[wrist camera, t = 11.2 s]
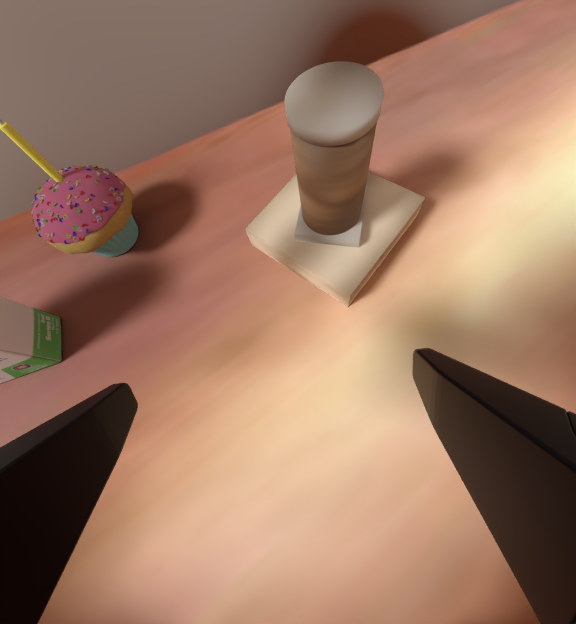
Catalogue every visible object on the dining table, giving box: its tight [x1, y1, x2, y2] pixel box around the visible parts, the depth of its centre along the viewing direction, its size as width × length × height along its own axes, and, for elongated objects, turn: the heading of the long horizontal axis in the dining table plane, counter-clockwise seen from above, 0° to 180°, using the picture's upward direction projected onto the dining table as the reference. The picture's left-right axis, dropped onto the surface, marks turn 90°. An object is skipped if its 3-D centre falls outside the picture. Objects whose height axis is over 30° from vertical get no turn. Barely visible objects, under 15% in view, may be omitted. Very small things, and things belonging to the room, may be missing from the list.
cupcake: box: [0, 120, 138, 257], centre depth 24 cm, size 9×8×12 cm
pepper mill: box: [285, 61, 384, 247], centre depth 19 cm, size 5×5×10 cm
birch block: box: [245, 171, 425, 307], centre depth 25 cm, size 11×11×3 cm
